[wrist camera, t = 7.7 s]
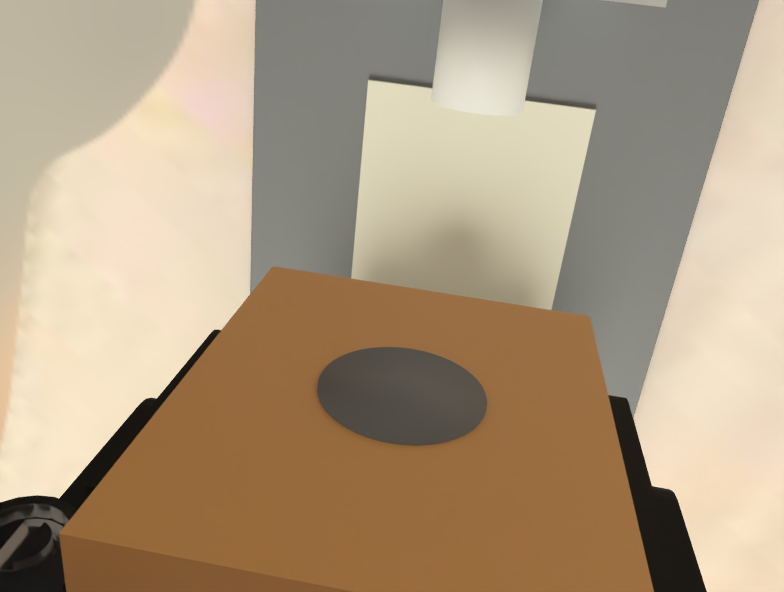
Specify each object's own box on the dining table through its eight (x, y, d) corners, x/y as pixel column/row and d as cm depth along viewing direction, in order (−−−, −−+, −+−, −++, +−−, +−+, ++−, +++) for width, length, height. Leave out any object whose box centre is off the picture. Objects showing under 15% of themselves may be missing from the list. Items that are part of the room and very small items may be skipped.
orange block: (273, 263, 11) (57, 529, 6) (590, 313, 11) (669, 648, 6) (263, 511, 14) (101, 870, 8) (528, 560, 13) (543, 977, 8)
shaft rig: (279, -290, 19) (154, -424, 13) (813, -245, 18) (990, -370, 11) (258, 449, 30) (185, 587, 24) (593, 511, 29) (616, 676, 22)
